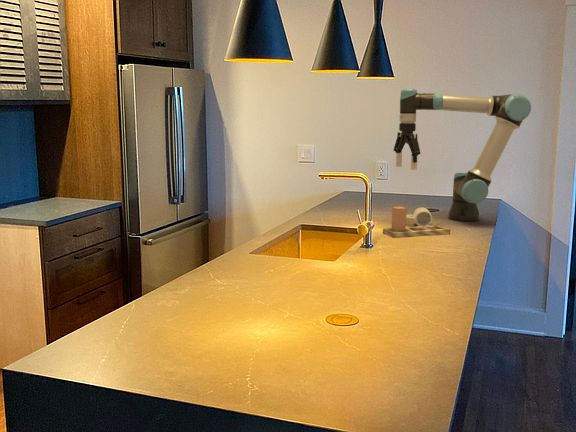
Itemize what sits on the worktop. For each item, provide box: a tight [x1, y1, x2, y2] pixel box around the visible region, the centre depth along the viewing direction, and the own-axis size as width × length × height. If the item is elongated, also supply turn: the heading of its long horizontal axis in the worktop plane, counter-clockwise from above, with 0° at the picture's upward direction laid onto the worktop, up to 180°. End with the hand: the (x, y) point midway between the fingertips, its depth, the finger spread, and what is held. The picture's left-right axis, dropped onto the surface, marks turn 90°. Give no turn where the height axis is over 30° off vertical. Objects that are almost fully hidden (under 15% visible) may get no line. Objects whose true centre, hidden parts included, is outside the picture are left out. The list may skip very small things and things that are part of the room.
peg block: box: [391, 206, 408, 231], centre depth 286 cm, size 4×4×12 cm
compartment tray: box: [382, 224, 451, 239], centre depth 290 cm, size 28×10×2 cm, turn 109°
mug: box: [406, 206, 433, 226], centre depth 307 cm, size 12×10×8 cm
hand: (406, 168), depth 309 cm, fingers open, 13 cm apart
